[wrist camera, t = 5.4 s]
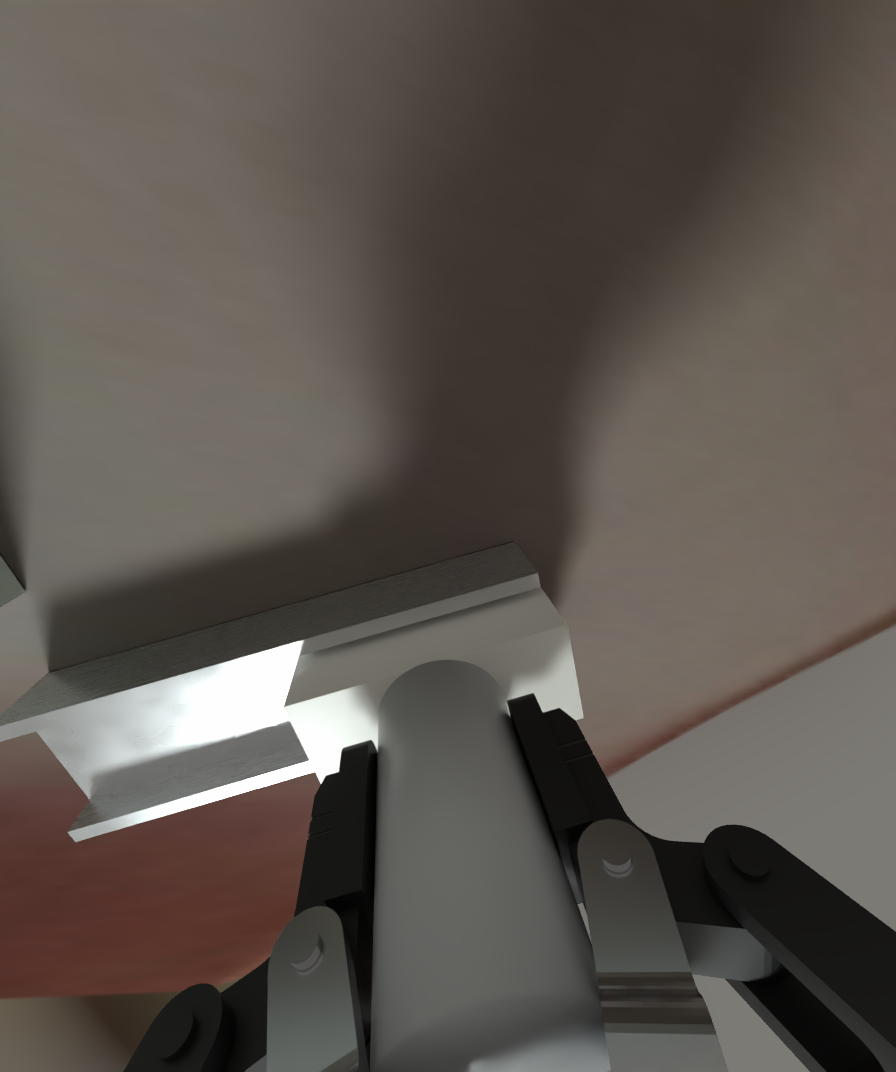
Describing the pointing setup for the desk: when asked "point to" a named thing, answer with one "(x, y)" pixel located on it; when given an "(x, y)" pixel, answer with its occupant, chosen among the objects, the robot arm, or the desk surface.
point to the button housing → (8, 584)
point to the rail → (225, 693)
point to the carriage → (461, 840)
